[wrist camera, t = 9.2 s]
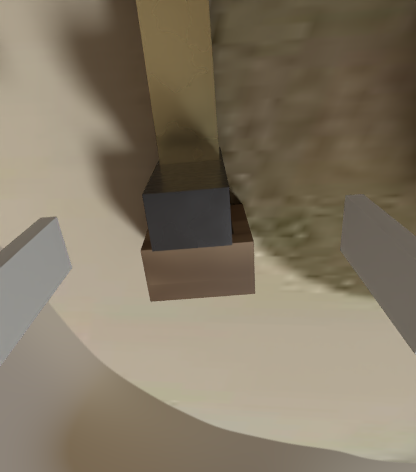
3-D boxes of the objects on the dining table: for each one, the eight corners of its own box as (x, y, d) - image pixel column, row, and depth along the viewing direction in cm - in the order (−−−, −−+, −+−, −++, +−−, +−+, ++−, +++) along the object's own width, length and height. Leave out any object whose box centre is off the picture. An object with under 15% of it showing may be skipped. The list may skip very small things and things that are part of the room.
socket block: (154, 211, 27) (140, 250, 21) (242, 203, 26) (253, 241, 21) (161, 254, 28) (150, 301, 23) (244, 247, 28) (255, 293, 22)
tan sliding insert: (134, -54, 19) (81, -149, 10) (206, -61, 18) (208, -163, 10) (175, 243, 27) (164, 317, 19) (226, 239, 27) (236, 312, 19)
